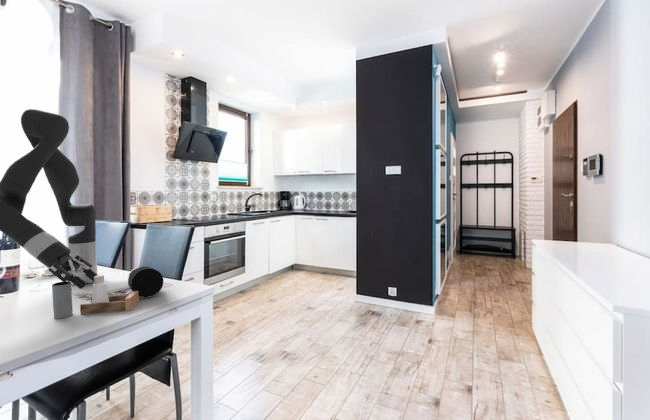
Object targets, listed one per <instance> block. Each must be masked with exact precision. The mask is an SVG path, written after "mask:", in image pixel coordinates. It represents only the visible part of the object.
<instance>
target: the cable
mask: <svg viewBox="0 0 650 420" xmlns="http://www.w3.org/2000/svg"><path fill="white" fill-rule="evenodd" d="M127 282H128V283H127V284H128V285H127V286H128V287H129V288H130V289H131V291H132V292H133V291H138V295H139V297H140V298H150V297H153V296H156V295H157V294H158V293H159V292H160V291H161V290H162V288H163V285H164V277H163V275H162V273H161V272H160V271H158V269H155V268H152V267H150V266H143V265H142V266H139V267H136V268H135V267H134V268H133V269H131V270H130V271H129V273H128V278H127Z"/></svg>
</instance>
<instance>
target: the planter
mask: <svg viewBox="0 0 650 420" xmlns="http://www.w3.org/2000/svg"><path fill="white" fill-rule="evenodd" d="M51 292H52V308H53V309H52V310H53V319H54V320H55V319H56V320H57V319H58V320H59V319H65V318H68V317H71V316H73V313H74V310H73V295H72V294H73V293H72V284H71V282H68V281H66V282H63V281H60V282H59V281H58V282H54V283H52V285H51Z"/></svg>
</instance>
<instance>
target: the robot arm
mask: <svg viewBox="0 0 650 420" xmlns="http://www.w3.org/2000/svg"><path fill="white" fill-rule="evenodd" d="M20 126H21V128H22V130H23V133H24V135H25V136H26V138H27V140H28V142H29V143H30V145H31V146H32V149H31V150H30V151H28V152H27V153H25V154H23V156H21V157H20V158H18V159H16V160H15V161H13V163H11V164H10V165H9V166H8V168H7V169H6V171H5V173H4V175H3V176H2V178H1V179H0V232H1V233H3V234H5V235H6V236H8V237H9V238H10V239H12V241H14V242H15V243H16V244H18V245H19V246H21V248H23V249H24V250H26V252H27V253H28V254H29V255H31V256H32V257H34V259H36V260H37V261H38V262H40V263H41V264H42V265H43V266H44V265H45V266H46V267H48V268H49V269H48V270H49V271H50V272H51V273H53V274H54V275H53V276H55V277H56V278H58V280H60V282H66V281H68V282H71V286H72V285H73V286H76V287H78V288H79V289H84V288H85V287H86V286H87V285H88V284H92V283H94V282H95V281H94V276H97V275H98V260H97V259H98V258H97V240H96V237H97V236H96V233H97V231H96V218H97V217H96V208H95V206H94V205H93V204H90V203H87V204H86V203H85V204H84V203H81V204H78V203H77V204H76V203H74V204H73V203H72V202H71V199H72V196H73V194H74V193H75V192H76V190H77V189H78V186H79V185H80V177H79V174H78V171H77V168H76V166H75V164H74V163H73V161H71V159H70V158H68V157H67V155H65V154H64V153H63V152H62V151H61V150H60V149H59V147H60V146H61V145H62V143H63V142H64V141H65V140H66V138H67V136H68V133H69V130H70V129H69V128H70V124H69V121H68V120H67V118H66V117H64V116H63V115H60V114H58V113H57V114H56V113H54V112H48V111H44V110H40V109H34V108H33V109H31V108H29V109H25V111H23V112H22V114H21V117H20ZM42 169H43V171H44V175H45V177H46V180H47V182H48V184H49V186H50V188H51V190H52V193H53V194H54V198H55V200H56V202H57V207H58V210H59V213H60V216H61V219H62V222H63V224H64V225H65V226H67V227H83V228H84V229H82V230H81V231H80V232H78V233H77V232H76V233H75V234H72V235H70V236H68V239H67V241H68V242H67V243H68V246H66V245H65V244H64V243H63V242H61V241H60V240H59V239H57V238H56V237H55V236H53V235H52V234H50V233H49V232H47V231H46V230H44V229H43V228H42V227H40V226H39V225H38V224H36V223H35V222H33V221H32V220H30V219H29V218H27V217H25V216H24V215H23V212H24V211H23V210H24V208H25V205H26V200H27V196H28V195H29V192H30V191H31V189H32V187H33V185H34V183H35V181H36V178H37V177H38V175H39V173H40V172H41V170H42ZM87 283H88V284H87Z"/></svg>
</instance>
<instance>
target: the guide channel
mask: <svg viewBox="0 0 650 420" xmlns="http://www.w3.org/2000/svg"><path fill="white" fill-rule="evenodd" d="M108 298H109V302H104V303H92V296H91V297H90V303H81V304H80V305H79V309H80V313H79V314H80V315H89V314H103V313H114V312H126V311H132V310H133V309H134V308H135V307H136V306H137V305H138V303H139V301H140V300H139V299H140V298H139V295H138V291H132V292H130V293H129V294H117V295H116V294H114V295H108Z"/></svg>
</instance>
